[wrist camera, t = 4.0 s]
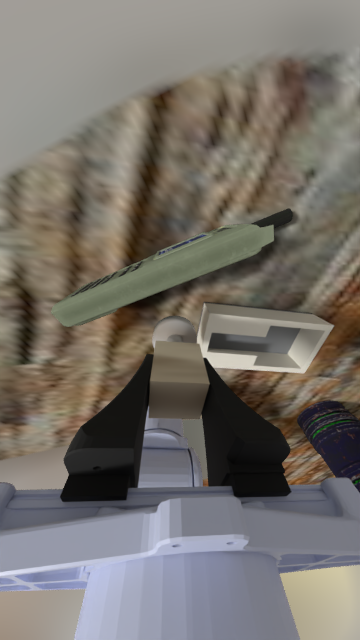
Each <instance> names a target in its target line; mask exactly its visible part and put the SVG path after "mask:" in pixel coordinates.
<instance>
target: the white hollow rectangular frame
mask: <svg viewBox="0 0 360 640" xmlns="http://www.w3.org/2000/svg"><path fill="white" fill-rule="evenodd" d="M333 327H334V325H332V324H330V323H328V322H326V321H325V320H323V319H321V318H319V317H317V316H315V315H314V314H312V313H304V312H294V311H285V310H275V309H266V308H257V307H247V306H238V305H229V304H219V303H210V302H204V304H203V309H202V314H201V318H200V323H199V328H198V333H197V343H198V344H200V348H201V352H202V356H203V358H207V359H208V361H209V362H210V364H211V365H212V367H216V368H231V369H247V370H262V371H278V372H293V373H305V371H306V370H307V368H308V366H309V365H310V363H311V362H312V360H313V359H314V357H315V355H316V354H317V352H318V351H319V349H320V348H321V346H322V344H323V343H324V341H325V340H326V338H327V336H328V335H329V333H330V332H331V330H332V329H333Z"/></svg>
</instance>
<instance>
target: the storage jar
mask: <svg viewBox="0 0 360 640" xmlns="http://www.w3.org/2000/svg"><path fill="white" fill-rule="evenodd" d="M297 422H298V425H299V426H300V427H301V428H302V429H303V432H304V433H305V435H306V437H307V439H308V440H309V442H310V443H311V444H312V445H313V447H314V448H315V450H316V451H317V453H318V454H320V455H321V456H322V458H323V459H324V461H325V462H326V464H327V465H328V466H329V468H330V469H331V471H332V472H333V474H334V475H335V477H336V478H349V479H350V480H351V482H352V483H353V485H354V486H355V487H356V489H357V490H358V491H359V493H360V421H359V420H358V419H357V418H356V417H355V416H354V415H352V414H351V413H350V412H349V411H348V410H346V409H345V407H344V406H343V405H342V404H341V403H339V402H337V401H323V402H319V403H316V404H314V405H312V406H310V407H308V408H306V409H305V410H304V411H303V412H301V414H300V415H299V417H298V419H297Z"/></svg>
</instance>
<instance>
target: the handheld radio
mask: <svg viewBox="0 0 360 640" xmlns="http://www.w3.org/2000/svg"><path fill="white" fill-rule="evenodd" d="M292 216H293V215H292V211H291V209H286V210H283V211H281V212H279V213H276V214H274V215H271V216H269V217H266V218H264V219H262V220H259V221H257V222H254V223H252V224H237V225H225V226H222V227H220V228H217V229H214V230H212V231H210V232H207V233H205V232H202V233H201V234H198V235H196V236H193V237H191V238H189V239H186V240H184V241H182V242H179V243H177V244H175V245H172V246H170V247H167V248H165V249H163V250H160V251H158V252H157V253H156V254H155V255H152V256H150V257H148V258H147V259H144V260H142V261H140V262H137V263H135V264H133V265H130V266H128V267H126V268H123V269H121V270H119V271H116V272H114V273H112V274H109V275H107V276H105V277H102V278H100V279H98V280H95V281H93V282H91V283H88V284H86V285H84V286H82V287H81V288H79V289H78V290H76V291H75V292H73V293H72V294H70V295H69V296H67V297H66V298H64V299H63V300H61V301H60V302H59V303H57V304H56V305H54V306H53V308H52V312H51V313H52V314H53V315H54V316H55V317H56V318H57V319H58V320H59V322H60V323H61V324H62V325H63V326H74V325H76V326H78V325H83V324H85V323H88V322H90V321H93V320H95V319H98V318H101V317H103V316H106V315H108V314H111V313H114V312H116V310H117V309H118V308H120V307H123V306H125V305H128V304H131V303H133V302H136V301H138V300H141V299H143V298H146V297H149V296H151V295H154V294H156V293H159V292H161V291H164V290H167V289H169V288H172V287H174V286H177V285H179V284H182V283H185V282H187V281H190V280H192V279H195V278H197V277H200V276H203V275H205V274H208V273H210V272H213V271H215V270H218V269H221V268H223V267H226V266H228V265H231V264H234V263H236V262H239V261H241V260H244V259H246V258H249V257H252V256H254V255H256V254H257V253H258V252H259V251H260V250H261V247H263V246H265V245H267V244H268V243H270V242H272V241H274V228H276V227H278V226H281V225H283V224H286V223H288V222H290V221H291V220H292Z"/></svg>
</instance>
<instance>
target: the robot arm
mask: <svg viewBox="0 0 360 640" xmlns="http://www.w3.org/2000/svg"><path fill="white" fill-rule="evenodd" d="M153 357H154V355H153V354H147V355H146V357H145V359H144V361H143V363H142V364H141V366H140V368H139V369H138V371H137V372H136V374H135V375H134V376H133V378H132V379H131V380H130V382H129V383H128V384H127V385H126V387H125V388H124V389H123V390H122V391H121V392H120V393H119V394H118V395H117V396H116V397H115V398H114V399H113V400H112V401H111V402H110V403H109V404H108V405H107V406H106V407H105V408H104V409H102V410H101V411H100V412H99V413H98V414H97V415H95V416H94V417H93V418H91V419H90V420H89V421H88V422H86V423H85V424H84V425H82V426H81V427H80V429H79V430H78V432H77V433H76V435H75V437H74V438H73V440H72V442H71V444H70V446H69V448H68V450H67V453H66V455H65V457H64V464H65V466H66V468H67V471H68V473H69V476H68V479H67V481H66V483H65V486H64V488H63V489H53V490H52V489H48V490H16V489H15V487H14V486H13V485H12V484H10V483H5V482H0V591H30V590H64V589H86V591H85V596H84V600H83V604H82V608H81V612H80V616H79V621H78V625H77V629H76V633H75V637H74V640H300V638H299V635H298V631H297V629H296V625H295V622H294V619H293V616H292V613H291V609H290V606H289V603H288V600H287V597H286V594H285V590H284V587H283V584H282V581H281V578H280V575H279V574H280V573H288V572H296V571H304V570H313V569H321V568H330V567H340V566H349V565H360V493H359V491H358V490H357V489H356V487H355V486H354V485H353V483H352V482H351V480H350V479H349V478H328V479H325V480H324V481H322V483H321V485H288V483H287V481H286V479H285V476H284V474H283V473H285V470H284V468H283V466H282V462H283V461H284V460H285V459H286V458H287V456H288V455H289V453H290V447H289V445H288V443H287V441H286V439H285V437H284V436H283V434H282V432H281V431H280V429H278V428H277V427H275V426H274V425H272V424H271V423H270V422H268V421H267V420H265V419H264V418H262V417H261V416H260V415H258V414H257V413H256V412H255V411H253V410H252V409H251V408H250V407H249V406H247V405H246V404H245V403H244V402H243V401H242V400H241V399H240V398H239V397H237V396H236V395H235V393H234V392H233V391H232V390H231V389H230V388H229V387H228V386H227V385H226V384H225V382H224V381H223V380H222V379H221V377H220V376H219V375H218V374H217V372H216V371H215V370H214V368H213V367H212V365H211V364H210V362H209V361H208V359H207V358H203V360H204V364H205V367H206V371H207V375H208V379H209V383H210V384H209V388H208V391H207V395H206V398H205V402H204V405H203V409H202V412H201V414H202V420H203V428H204V437H205V447H206V458H207V470H208V485H209V487H203V481H202V471H201V465H200V461H199V458H198V455H197V454H196V452H195V451H194V449H193V448H192V447H188V442H187V438H185V437H184V436H183V421H182V419H165V418H148V415H149V394H150V378H151V371H152V364H153Z"/></svg>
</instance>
